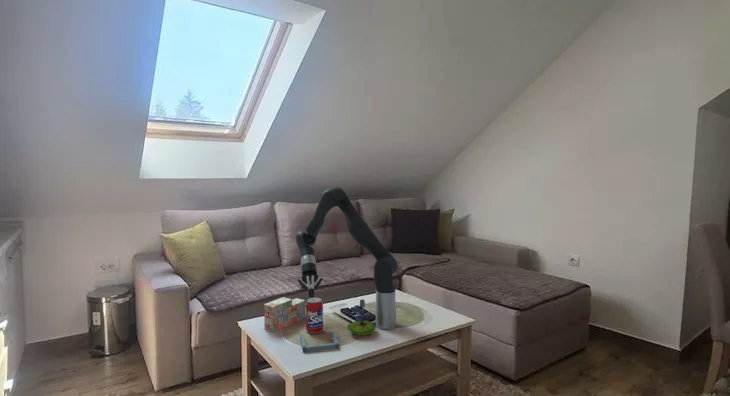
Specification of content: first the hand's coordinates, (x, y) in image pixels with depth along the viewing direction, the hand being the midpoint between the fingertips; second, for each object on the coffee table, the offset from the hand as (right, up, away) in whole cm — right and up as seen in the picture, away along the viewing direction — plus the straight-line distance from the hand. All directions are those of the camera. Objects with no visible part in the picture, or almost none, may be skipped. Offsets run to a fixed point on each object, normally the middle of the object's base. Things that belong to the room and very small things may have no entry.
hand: (311, 297), depth 211 cm
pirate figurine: (+24, -14, -11) cm, 30 cm away
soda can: (+3, -14, -8) cm, 16 cm away
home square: (+6, -15, -21) cm, 26 cm away
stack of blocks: (-13, -13, +1) cm, 18 cm away
